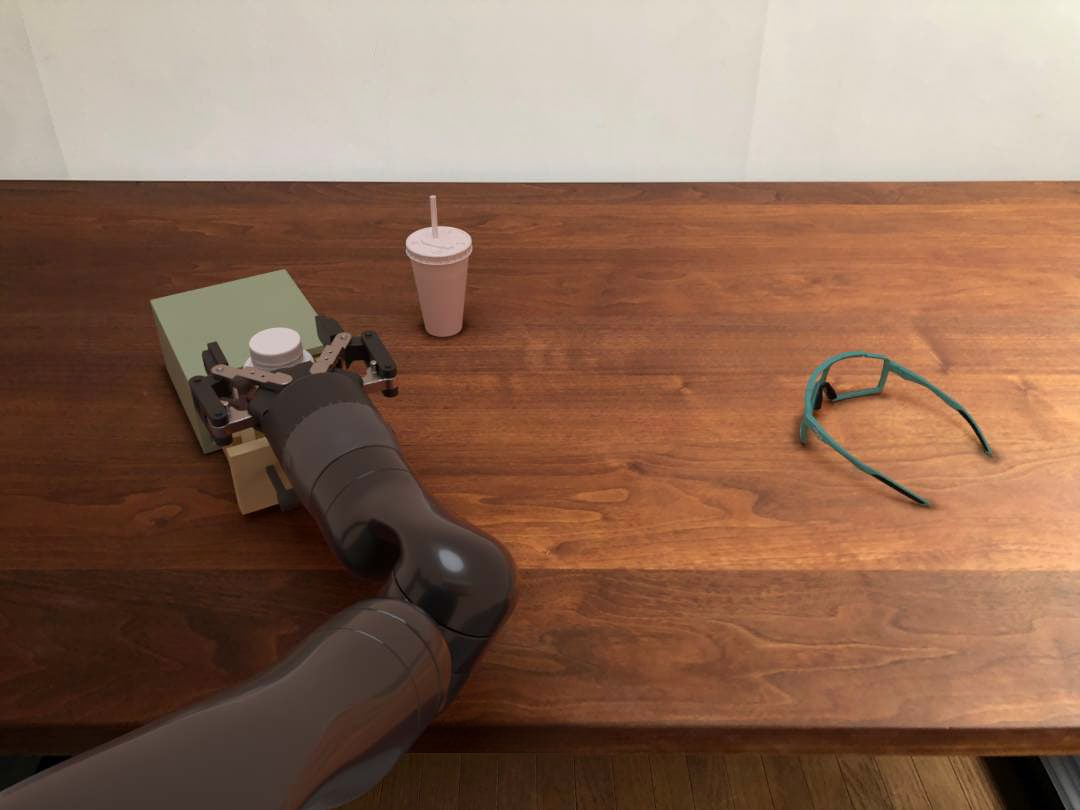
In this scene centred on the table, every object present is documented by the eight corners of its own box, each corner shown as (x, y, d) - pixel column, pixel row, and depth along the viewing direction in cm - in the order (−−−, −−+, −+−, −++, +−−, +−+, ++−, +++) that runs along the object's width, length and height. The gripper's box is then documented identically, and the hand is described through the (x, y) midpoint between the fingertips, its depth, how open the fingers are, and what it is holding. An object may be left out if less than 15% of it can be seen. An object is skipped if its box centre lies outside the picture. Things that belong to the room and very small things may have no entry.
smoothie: (451, 304, 110) (444, 178, 102) (488, 329, 106) (484, 200, 98) (399, 324, 107) (388, 196, 98) (435, 351, 103) (427, 220, 94)
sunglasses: (855, 372, 100) (869, 330, 96) (997, 458, 92) (1018, 415, 88) (762, 433, 92) (775, 389, 89) (909, 532, 84) (928, 488, 81)
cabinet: (345, 413, 94) (336, 341, 90) (204, 454, 89) (187, 380, 85) (295, 336, 105) (285, 268, 100) (166, 369, 100) (149, 299, 95)
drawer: (403, 507, 83) (397, 448, 79) (260, 554, 78) (248, 495, 75) (326, 387, 96) (318, 333, 93) (200, 423, 92) (187, 367, 88)
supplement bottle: (330, 459, 86) (315, 353, 80) (260, 471, 85) (239, 365, 79) (321, 419, 90) (306, 317, 84) (255, 430, 89) (235, 327, 83)
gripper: (242, 527, 70) (185, 401, 82) (438, 463, 76) (358, 354, 87) (223, 438, 66) (165, 318, 77) (432, 378, 71) (349, 274, 83)
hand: (268, 337), depth 82 cm, fingers open, 8 cm apart
